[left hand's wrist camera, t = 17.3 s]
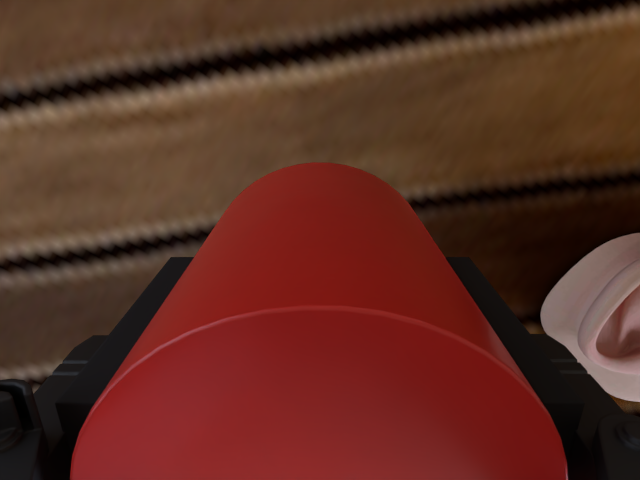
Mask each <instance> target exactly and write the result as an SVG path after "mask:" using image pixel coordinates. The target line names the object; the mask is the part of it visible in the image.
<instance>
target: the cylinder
mask: <svg viewBox="0 0 640 480" xmlns="http://www.w3.org/2000/svg"><path fill="white" fill-rule="evenodd" d="M70 480H568V467H567V460H566V456H565V452H564V448H563V444H562V440H561V437H560V435H559V433H558V431H557V429H556V426H555V424H554V422H553V420H552V418H551V416H550V414H549V412H548V411H547V409H546V408H545V406H544V405H543V403H542V402H541V400H540V399H539V397H538V396H537V394H536V393H535V391H534V390H533V388H532V387H531V385H530V384H529V382H528V381H527V379H526V378H525V376H524V375H523V373H522V372H521V370H520V369H519V367H518V366H517V364H516V363H515V361H514V360H513V358H512V357H511V355H510V354H509V352H508V351H507V349H506V348H505V346H504V345H503V343H502V342H501V340H500V339H499V337H498V336H497V334H496V333H495V331H494V330H493V328H492V327H491V325H490V324H489V322H488V321H487V319H486V318H485V316H484V315H483V314H482V312H481V311H480V309H479V308H478V306H477V305H476V303H475V302H474V300H473V299H472V297H471V296H470V294H469V293H468V291H467V290H466V288H465V287H464V285H463V284H462V282H461V281H460V279H459V278H458V276H457V275H456V273H455V272H454V270H453V269H452V267H451V266H450V264H449V263H448V261H447V260H446V258H445V257H444V255H443V254H442V252H441V251H440V249H439V248H438V246H437V245H436V243H435V242H434V240H433V239H432V237H431V236H430V234H429V233H428V231H427V230H426V228H425V227H424V225H423V224H422V222H421V221H420V219H419V218H418V216H417V215H416V213H415V212H414V211H413V209H412V208H411V206H410V205H409V203H408V202H407V201H406V200H405V199H404V198H403V197H402V196H401V195H400V194H399V193H398V192H397V191H396V190H395V189H393V188H392V187H391V186H390V185H389V184H387V183H386V182H384V181H382V180H381V179H379V178H377V177H376V176H374V175H372V174H370V173H367V172H365V171H363V170H360V169H357V168H354V167H350V166H347V165H341V164H334V163H306V164H298V165H294V166H290V167H286V168H282V169H280V170H277V171H275V172H272V173H270V174H268V175H266V176H264V177H262V178H260V179H259V180H257V181H255V182H254V183H253V184H251V185H250V186H249V187H247V188H246V189H245V190H243V191H242V192H241V193H240V194H239V195H238V196H237V197H236V198H235V199H234V200H233V202H232V203H231V204H230V206H229V207H228V208H227V210H226V211H225V213H224V214H223V215H222V217H221V218H220V220H219V221H218V223H217V224H216V226H215V227H214V229H213V230H212V232H211V233H210V235H209V236H208V238H207V239H206V241H205V242H204V243H203V245H202V246H201V248H200V249H199V251H198V252H197V254H196V255H195V257H194V258H193V260H192V261H191V263H190V264H189V266H188V267H187V268H186V270H185V271H184V273H183V274H182V276H181V277H180V279H179V280H178V282H177V283H176V285H175V286H174V288H173V289H172V291H171V292H170V294H169V295H168V296H167V298H166V299H165V301H164V302H163V304H162V305H161V307H160V308H159V310H158V311H157V313H156V314H155V316H154V317H153V319H152V320H151V321H150V323H149V324H148V326H147V327H146V329H145V330H144V332H143V333H142V335H141V336H140V338H139V339H138V341H137V342H136V344H135V345H134V347H133V348H132V349H131V351H130V352H129V354H128V355H127V357H126V358H125V360H124V361H123V363H122V364H121V366H120V367H119V369H118V370H117V372H116V373H115V375H114V376H113V377H112V379H111V380H110V382H109V383H108V385H107V386H106V388H105V389H104V391H103V392H102V394H101V395H100V397H99V398H98V400H97V401H96V402H95V404H94V405H93V407H92V408H91V410H90V412H89V414H88V416H87V418H86V420H85V422H84V424H83V426H82V428H81V430H80V432H79V435H78V438H77V442H76V445H75V448H74V452H73V455H72V462H71V472H70Z"/></svg>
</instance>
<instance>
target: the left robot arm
mask: <svg viewBox="0 0 640 480" xmlns="http://www.w3.org/2000/svg"><path fill="white" fill-rule="evenodd" d="M193 258H194V257H171V258H170V259H169V260H168V262H167V263H166V264H165V265H164V267H163V268H162V269H161V270H160V272H159V273H158V274H157V275H156V277H155V278H154V279H153V280H152V282H151V283H150V284H149V285H148V287H147V288H146V289H145V290H144V292H143V293H142V294H141V295H140V297H139V298H138V299H137V300H136V302H135V303H134V304H133V306H132V307H131V308H130V309H129V311H128V312H127V313H126V314H125V316H124V317H123V318H122V319H121V321H120V322H119V323H118V324H117V326H116V327H115V328H114V329H113V331H112V332H111V333H110V334H109V335H93V336H92V337H90V338H89V339H87V340H86V341H84V342H82V343H81V344H79V345H78V346H76V347H75V348H74V349H73V350H72V351H71V352H70V354H69V355H68V356H67V357H66V358H65V359H64V360H63V364H60V365H59V366H58V367H57V368H56V369H55V370H54V372H53V375H52V376H49V377H48V378H47V380H46V381H45V382H44V383H43V384H42V385H41V386H40V387H39V389H38V390H37V391H36V392H35V393H34V394H33V391H32V388H31V385H29V384H28V383H27V382H25V381H24V380H17V379H6V380H0V480H70V472H71V462H72V455H73V452H74V448H75V445H76V442H77V438H78V435H79V432H80V430H81V428H82V426H83V424H84V422H85V420H86V418H87V416H88V414H89V412H90V410H91V408H92V407H93V405H94V404H95V402H96V401H97V400H98V398H99V397H100V395H101V394H102V392H103V391H104V389H105V388H106V386H107V385H108V383H109V382H110V380H111V379H112V377H113V376H114V375H115V373H116V372H117V370H118V369H119V367H120V366H121V364H122V363H123V361H124V360H125V358H126V357H127V355H128V354H129V352H130V351H131V349H132V348H133V347H134V345H135V344H136V342H137V341H138V339H139V338H140V336H141V335H142V333H143V332H144V330H145V329H146V327H147V326H148V324H149V323H150V321H151V320H152V319H153V317H154V316H155V314H156V313H157V311H158V310H159V308H160V307H161V305H162V304H163V302H164V301H165V299H166V298H167V296H168V295H169V294H170V292H171V291H172V289H173V288H174V286H175V285H176V283H177V282H178V280H179V279H180V277H181V276H182V274H183V273H184V271H185V270H186V268H187V267H188V266H189V264H190V263H191V261H192V260H193ZM445 258H446V260H447V261H448V263H449V264H450V266H451V267H452V269H453V270H454V272H455V273H456V275H457V276H458V278H459V279H460V281H461V282H462V284H463V285H464V287H465V288H466V290H467V291H468V293H469V294H470V296H471V297H472V299H473V300H474V302H475V303H476V305H477V306H478V308H479V309H480V311H481V312H482V314H483V315H484V316H485V318H486V319H487V321H488V322H489V324H490V325H491V327H492V328H493V330H494V331H495V333H496V334H497V336H498V337H499V339H500V340H501V342H502V343H503V345H504V346H505V348H506V349H507V351H508V352H509V354H510V355H511V357H512V358H513V360H514V361H515V363H516V364H517V366H518V367H519V369H520V370H521V372H522V373H523V375H524V376H525V378H526V379H527V381H528V382H529V384H530V385H531V387H532V388H533V390H534V391H535V393H536V394H537V396H538V397H539V399H540V400H541V402H542V403H543V405H544V406H545V408H546V409H547V411H548V412H549V414H550V416H551V418H552V420H553V422H554V424H555V426H556V429H557V431H558V433H559V435H560V437H561V440H562V444H563V448H564V452H565V456H566V460H567V467H568V480H640V417H637V416H635V415H631V414H625V413H624V412H623V410H622V409H621V408H620V407H619V406H618V405H617V404H616V403H615V401H614V400H613V399H612V398H611V397H610V396H609V395H608V394H607V392H606V391H605V390H604V389H603V388H602V387H601V386H600V385H599V383H598V382H597V381H596V380H595V379H594V378H593V377H592V376H591V374H588V373H587V370H586V369H585V368H584V367H583V365H582V364H581V363H580V362H577V359H576V358H575V356H574V355H573V354H572V353H571V352H570V351H569V350H568V349H567V347H566V346H564V345H563V344H561V343H560V342H558V341H557V340H555V339H554V338H552V337H550V336H549V335H547V334H530V333H529V332H528V331H527V330H526V328H525V327H524V326H523V325H522V323H521V322H520V321H519V320H518V318H517V317H516V316H515V315H514V313H513V312H512V311H511V310H510V308H509V307H508V306H507V305H506V303H505V302H504V301H503V300H502V298H501V297H500V296H499V295H498V293H497V292H496V291H495V290H494V288H493V287H492V286H491V284H490V283H489V282H488V281H487V279H486V278H485V277H484V276H483V274H482V273H481V272H480V271H479V269H478V268H477V267H476V266H475V264H474V263H473V262H472V261H471V259H470V258H469V257H445Z"/></svg>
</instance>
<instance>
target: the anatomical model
mask: <svg viewBox="0 0 640 480" xmlns="http://www.w3.org/2000/svg"><path fill="white" fill-rule="evenodd" d="M540 316H541V323H542V326H543V328H544V330H545V332H546V334H547V335H549V336H550V337H552V338H554V339H555V340H557V341H558V342H560V343H561V344H563V345H564V346H566V347H567V349H568V350H569V351H570V352H571V353H572V354H573V355H574V356H575V358H576V359H577V362H580V363H581V364H582V365H583V367H584V368H585V369H586V370H587V373H588V374H591V376H592V377H593V378H594V379H595V380H596V381H597V382H598V383H599V385H600V386H601V387H602V388H603V389H604V390H605V391H606V392H607V393H609V394H611V395H613V396H615V397H618V398H621V399H624V400H629V401H637V402H640V233H634V234H629V235H626V236H622V237H618V238H616V239H613V240H610V241H608V242H606V243H604V244H603V245H601V246H599V247H597V248H596V249H594V250H593V251H592V252H590V253H589V254H588V255H586V256H585V257H584V258H582V259H581V260H580V261H579V262H578V263H577V264H576V265H575V266H573V267H572V268H571V269H570V270H569V271H568V272H567V273H566V274H565V275H564V276H563V277H562V278H561V279H560V280H559V282H558V283H557V284H556V285H555V286H554V287H553V289H552V290H551V291H550V293H549V294H548V296H547V297H546V299H545V301H544V303H543V305H542V308H541V314H540Z"/></svg>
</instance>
